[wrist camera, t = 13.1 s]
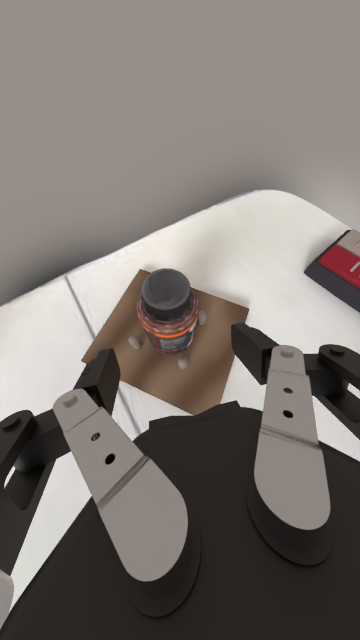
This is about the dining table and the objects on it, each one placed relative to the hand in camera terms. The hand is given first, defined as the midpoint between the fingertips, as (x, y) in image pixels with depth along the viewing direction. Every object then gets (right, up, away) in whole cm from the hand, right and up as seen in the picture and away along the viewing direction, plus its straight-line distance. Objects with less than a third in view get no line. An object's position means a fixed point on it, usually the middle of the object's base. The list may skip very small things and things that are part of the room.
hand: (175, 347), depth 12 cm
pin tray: (-1, 0, +14) cm, 14 cm away
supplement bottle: (-1, 0, +13) cm, 13 cm away
